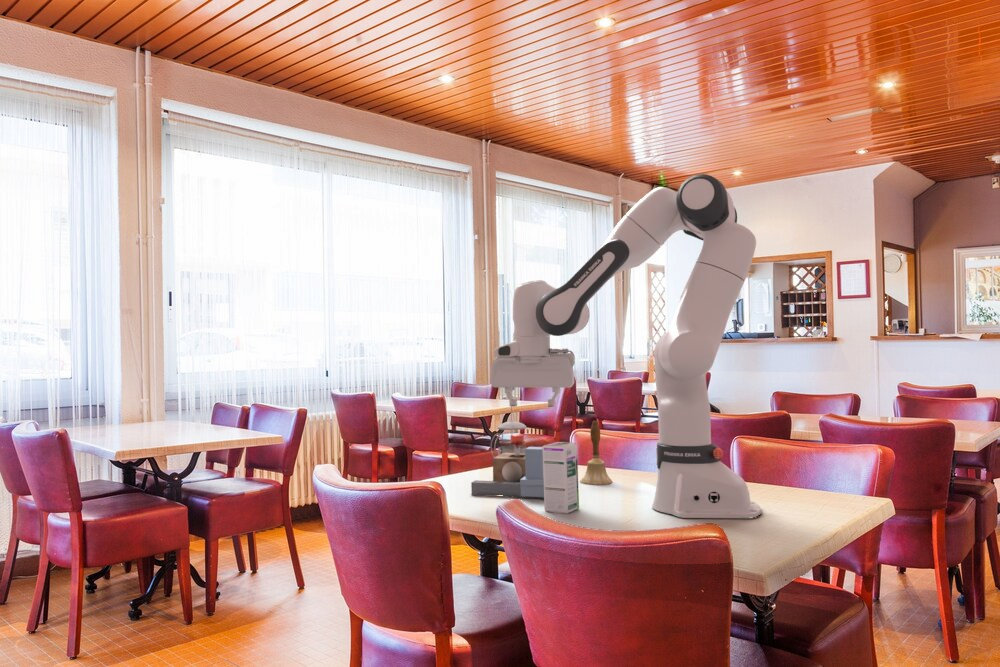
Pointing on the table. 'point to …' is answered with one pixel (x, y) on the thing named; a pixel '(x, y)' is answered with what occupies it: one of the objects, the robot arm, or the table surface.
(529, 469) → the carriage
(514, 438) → the red capped bottle
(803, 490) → the table surface
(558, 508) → the syrup box
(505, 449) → the french press
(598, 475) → the hand bell
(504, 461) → the brown wooden block
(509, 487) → the rail
